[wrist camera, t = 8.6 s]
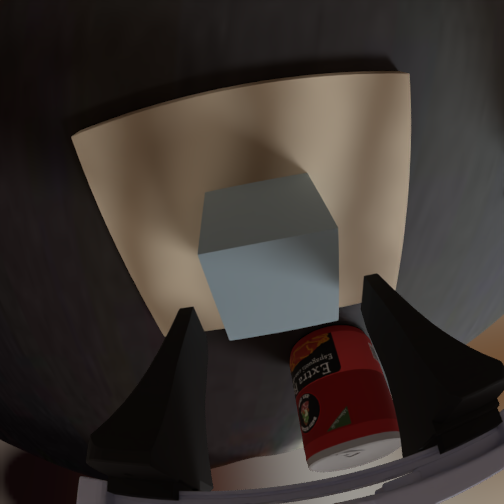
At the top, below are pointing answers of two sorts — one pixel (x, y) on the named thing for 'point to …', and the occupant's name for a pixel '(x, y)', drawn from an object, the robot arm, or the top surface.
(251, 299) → the cube
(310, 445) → the canned food
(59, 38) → the top surface
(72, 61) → the top surface
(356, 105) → the board
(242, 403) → the top surface
